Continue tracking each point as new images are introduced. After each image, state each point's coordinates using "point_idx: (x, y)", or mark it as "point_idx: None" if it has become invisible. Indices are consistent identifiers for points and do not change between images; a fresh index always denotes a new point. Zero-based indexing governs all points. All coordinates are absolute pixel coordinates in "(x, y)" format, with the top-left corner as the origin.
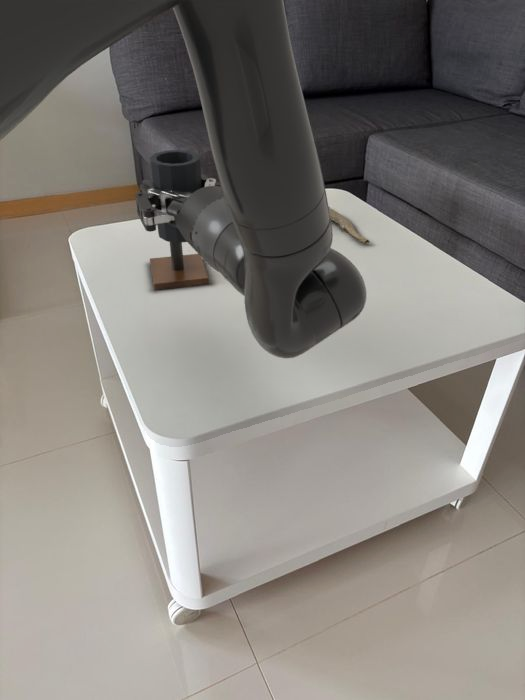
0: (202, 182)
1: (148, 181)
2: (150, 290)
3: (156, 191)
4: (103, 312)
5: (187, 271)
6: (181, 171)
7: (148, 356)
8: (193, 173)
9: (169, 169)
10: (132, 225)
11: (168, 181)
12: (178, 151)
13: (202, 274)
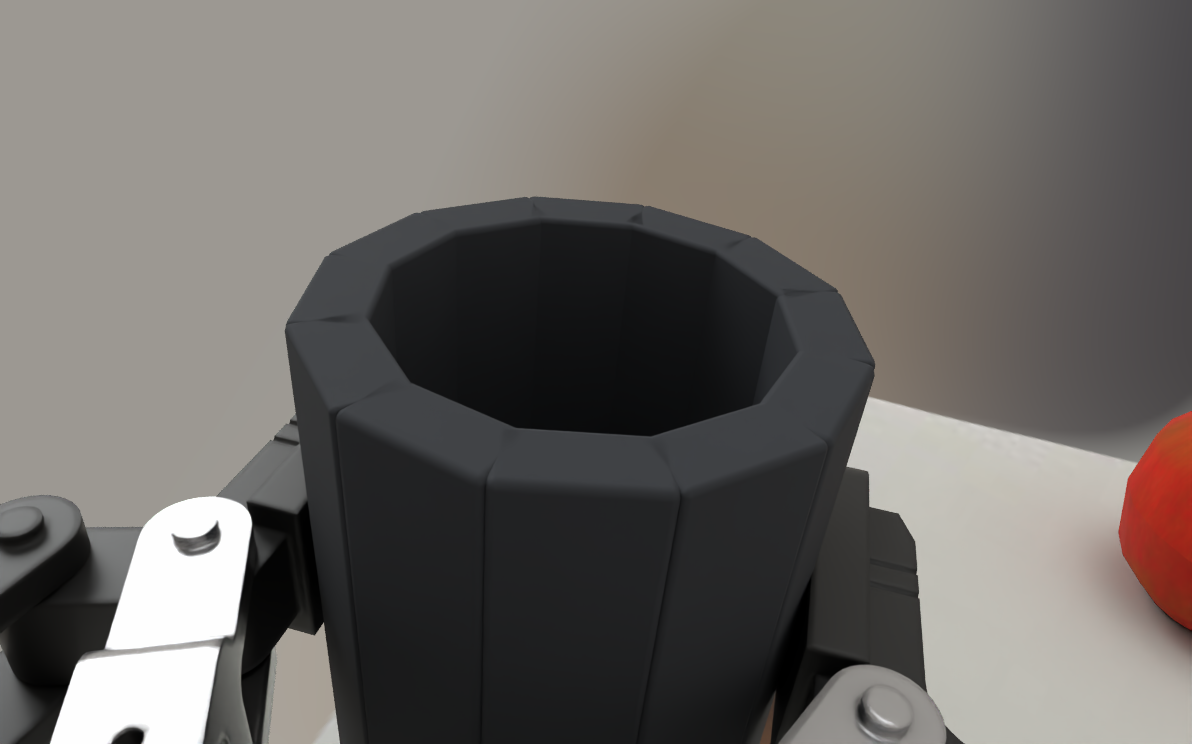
0: (800, 649)
1: None
2: None
3: (185, 574)
4: (331, 722)
5: (765, 726)
6: (443, 532)
7: None
8: (624, 605)
9: (323, 440)
10: None
11: (332, 538)
12: (726, 251)
13: None
